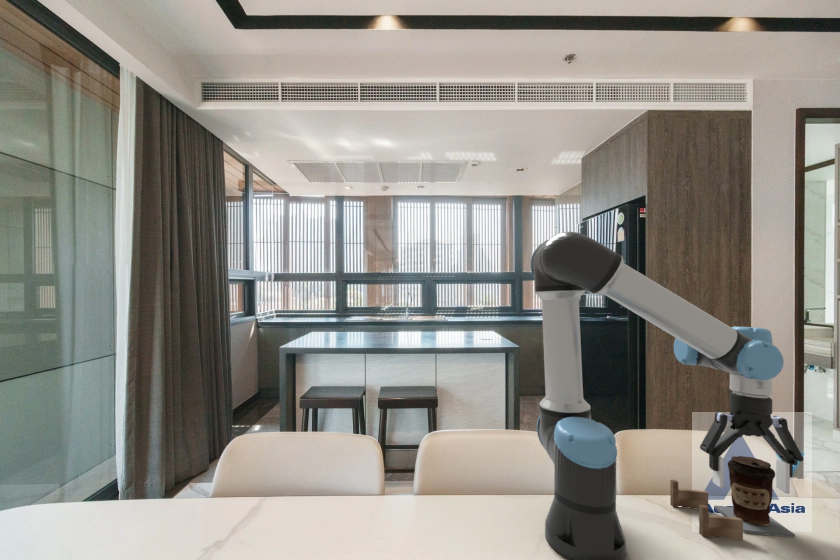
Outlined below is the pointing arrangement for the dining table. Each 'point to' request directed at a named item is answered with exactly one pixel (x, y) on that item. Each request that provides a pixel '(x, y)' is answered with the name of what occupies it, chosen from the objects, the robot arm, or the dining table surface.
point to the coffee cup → (751, 489)
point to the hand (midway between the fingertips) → (750, 487)
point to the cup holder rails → (706, 513)
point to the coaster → (748, 527)
